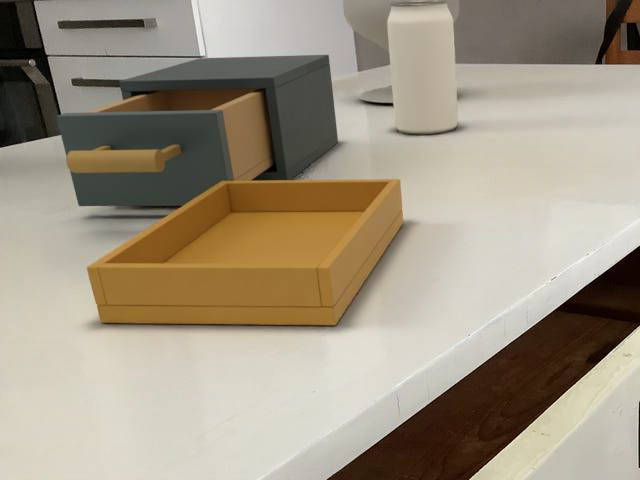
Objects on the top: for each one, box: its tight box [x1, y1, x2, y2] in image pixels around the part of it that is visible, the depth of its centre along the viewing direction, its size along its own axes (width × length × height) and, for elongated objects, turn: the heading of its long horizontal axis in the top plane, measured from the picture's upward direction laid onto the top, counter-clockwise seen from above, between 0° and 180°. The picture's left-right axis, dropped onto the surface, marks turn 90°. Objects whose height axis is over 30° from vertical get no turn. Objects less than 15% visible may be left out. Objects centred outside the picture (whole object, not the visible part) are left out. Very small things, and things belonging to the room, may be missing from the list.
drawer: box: [56, 88, 276, 207], centre depth 63 cm, size 19×11×6 cm, turn 174°
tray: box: [86, 178, 404, 326], centre depth 49 cm, size 12×17×3 cm
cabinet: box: [118, 54, 339, 181], centre depth 74 cm, size 16×13×8 cm
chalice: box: [342, 0, 461, 104], centre depth 103 cm, size 14×14×15 cm
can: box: [387, 1, 459, 135], centre depth 84 cm, size 6×6×12 cm
